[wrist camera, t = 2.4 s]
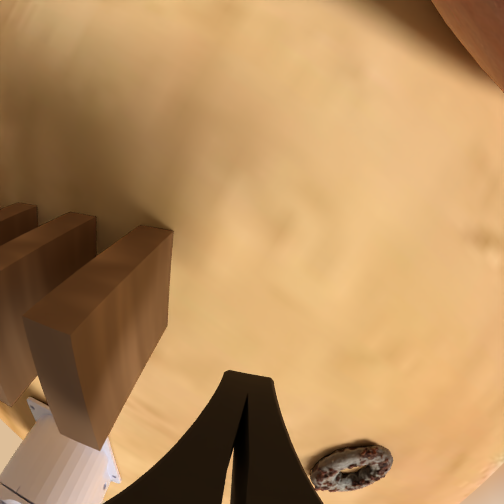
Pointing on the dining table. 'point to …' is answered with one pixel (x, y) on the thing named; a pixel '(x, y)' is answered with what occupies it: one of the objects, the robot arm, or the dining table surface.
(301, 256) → the dining table surface
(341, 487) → the donut
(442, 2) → the ceramic pitcher
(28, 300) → the domino
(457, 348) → the dining table surface
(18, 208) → the domino
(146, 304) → the domino
